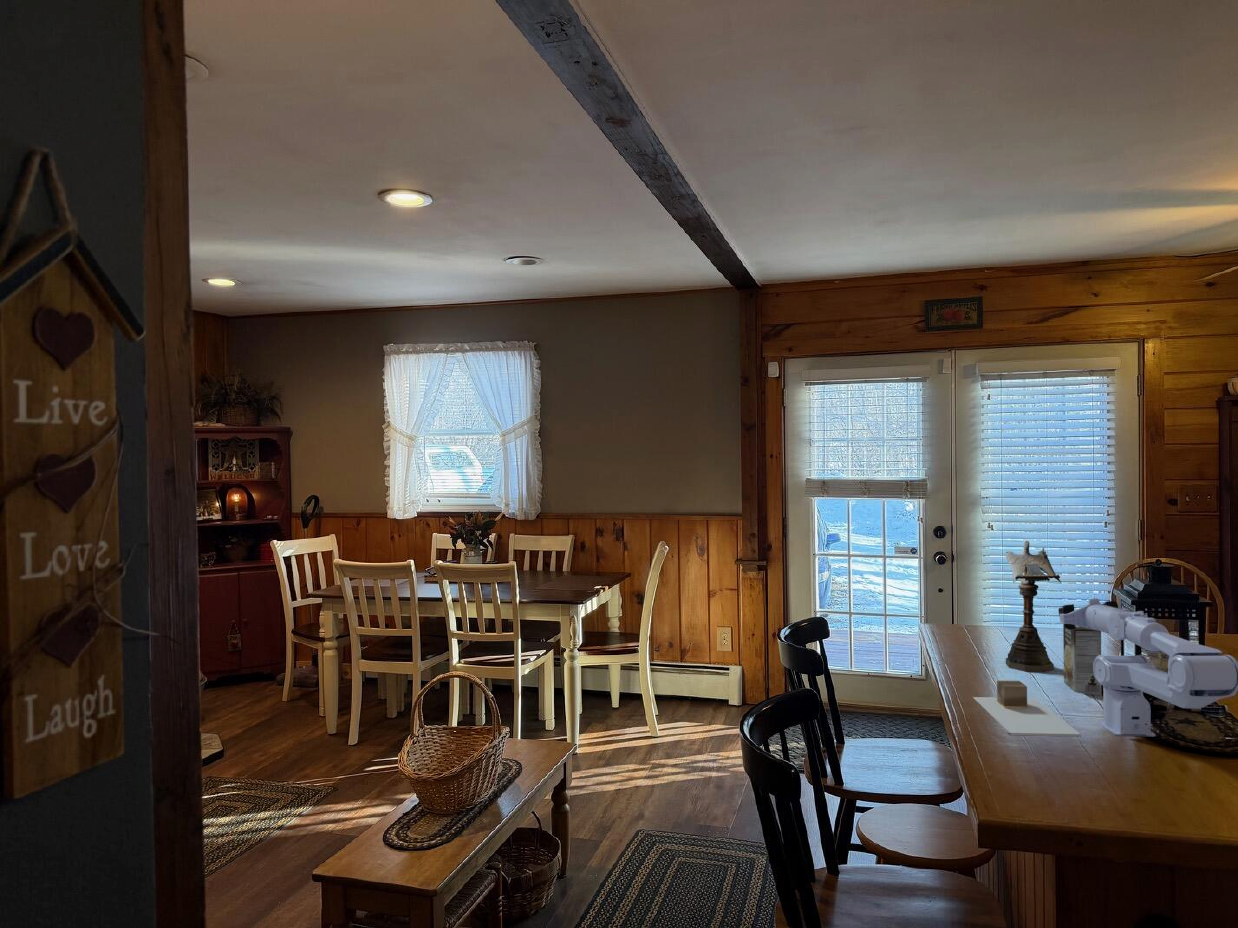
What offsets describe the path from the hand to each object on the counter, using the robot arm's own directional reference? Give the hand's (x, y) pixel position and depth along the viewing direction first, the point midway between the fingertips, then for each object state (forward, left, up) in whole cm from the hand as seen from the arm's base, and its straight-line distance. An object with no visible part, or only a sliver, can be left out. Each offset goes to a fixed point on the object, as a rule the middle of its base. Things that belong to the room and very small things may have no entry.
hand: (1076, 611), depth 200 cm
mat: (-13, +17, -21) cm, 30 cm away
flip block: (-6, +17, -21) cm, 27 cm away
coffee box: (+10, -5, -22) cm, 24 cm away
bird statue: (+30, -1, -22) cm, 37 cm away
